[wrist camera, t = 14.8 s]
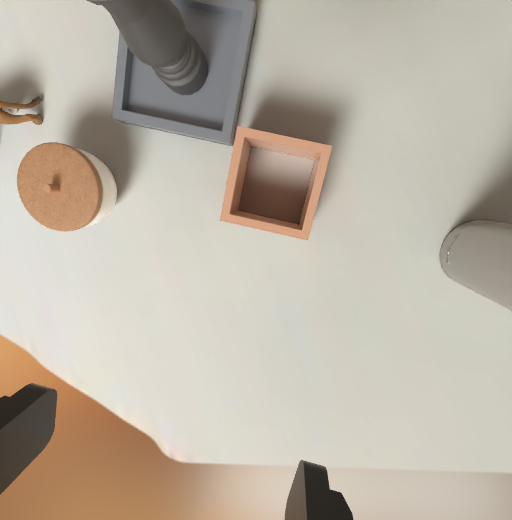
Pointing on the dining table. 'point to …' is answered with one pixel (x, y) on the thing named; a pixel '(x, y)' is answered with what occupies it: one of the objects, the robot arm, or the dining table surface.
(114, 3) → the candle holder
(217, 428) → the dining table surface
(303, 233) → the square copper bin
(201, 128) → the tray
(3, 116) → the lion figurine
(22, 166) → the lidded jar
